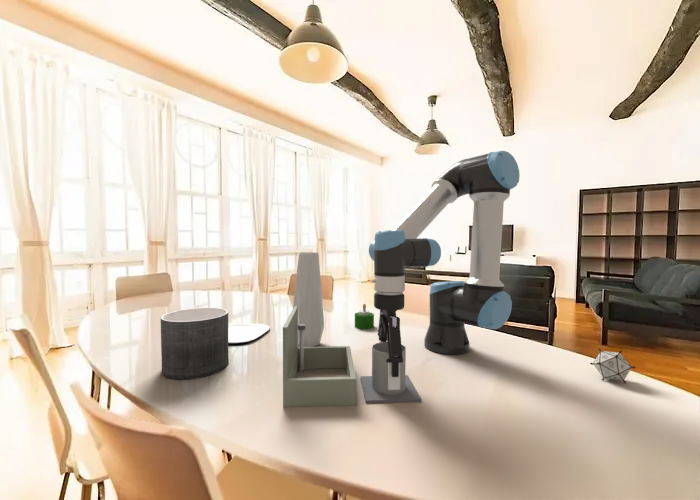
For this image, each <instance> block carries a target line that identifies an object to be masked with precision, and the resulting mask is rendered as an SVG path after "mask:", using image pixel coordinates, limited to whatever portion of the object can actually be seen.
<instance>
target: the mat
mask: <svg viewBox="0 0 700 500" xmlns="http://www.w3.org/2000/svg"><path fill="white" fill-rule="evenodd" d="M359 378H360V383H361V387H362V392H363V396H364V397H363V398H364V401H365V404H373V403H374V404H377V403H381V404H382V403H383V404H384V403H410V402H412V403H413V402H415V403H416V402H419V403H420V402H422V397H421V395H420V394H419V392H418V391H417V389H416V387H415V386H414V384H413V382H412V380H411V378H410V376H409V375H407V374H405V390H404V391H403V392H402V393H399V394H395V395H387V394H382V393H379V392H377V391H375V390H374V389H373V388H372V375H361V376H360V377H359Z"/></svg>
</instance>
